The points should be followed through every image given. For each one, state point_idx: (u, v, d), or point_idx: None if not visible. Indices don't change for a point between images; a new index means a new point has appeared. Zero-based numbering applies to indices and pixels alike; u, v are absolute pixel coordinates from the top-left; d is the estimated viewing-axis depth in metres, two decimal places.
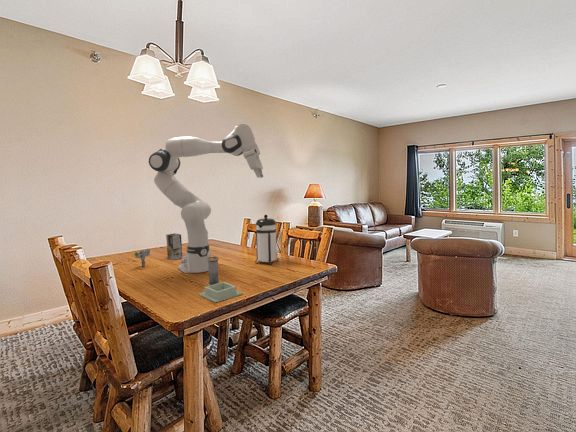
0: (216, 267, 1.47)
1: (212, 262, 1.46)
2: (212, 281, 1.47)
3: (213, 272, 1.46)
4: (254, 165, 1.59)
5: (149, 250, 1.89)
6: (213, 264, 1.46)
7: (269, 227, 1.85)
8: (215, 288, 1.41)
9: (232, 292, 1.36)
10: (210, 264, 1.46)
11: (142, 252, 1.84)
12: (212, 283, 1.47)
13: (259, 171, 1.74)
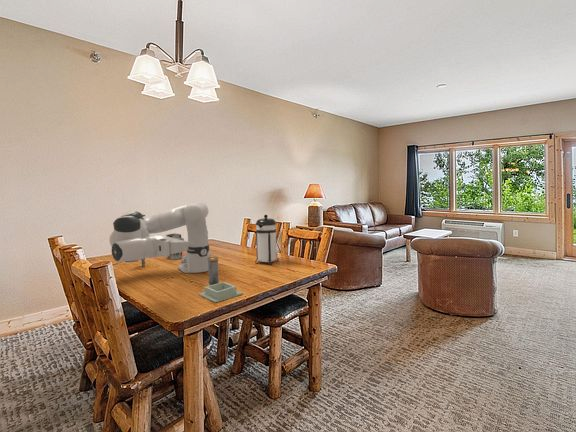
0: (216, 267, 1.47)
1: (212, 262, 1.46)
2: (212, 281, 1.47)
3: (213, 272, 1.46)
4: (185, 244, 1.27)
5: None
6: (213, 264, 1.46)
7: (269, 227, 1.85)
8: (215, 288, 1.41)
9: (232, 292, 1.36)
10: (210, 264, 1.46)
11: None
12: (212, 283, 1.47)
13: None
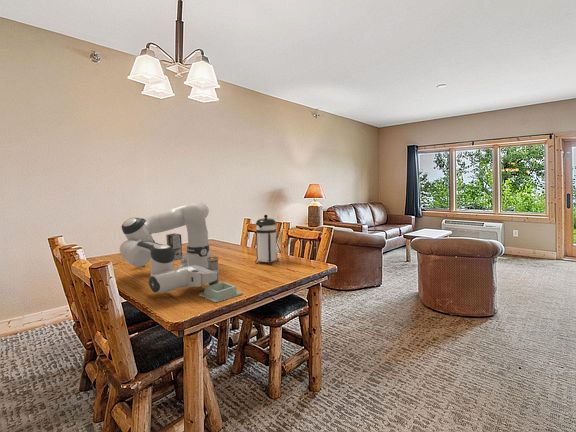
0: (216, 267, 1.47)
1: (212, 262, 1.46)
2: None
3: None
4: (215, 275, 1.38)
5: None
6: (213, 264, 1.46)
7: (269, 227, 1.85)
8: (215, 288, 1.41)
9: (232, 292, 1.36)
10: (210, 264, 1.46)
11: None
12: (212, 283, 1.47)
13: None
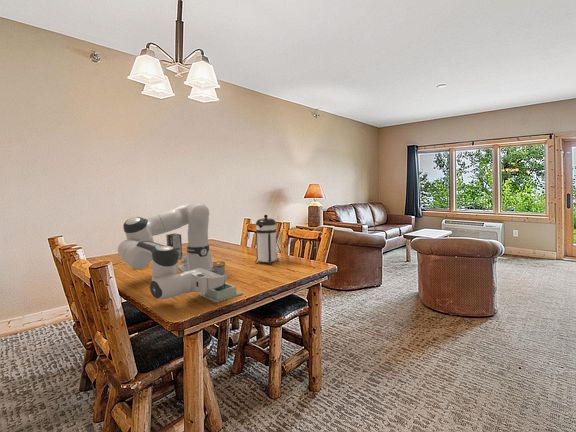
0: (223, 273, 1.36)
1: (218, 267, 1.34)
2: (218, 287, 1.35)
3: None
4: (222, 279, 1.26)
5: None
6: (219, 269, 1.35)
7: (269, 227, 1.85)
8: None
9: (232, 292, 1.36)
10: (216, 269, 1.35)
11: None
12: (218, 290, 1.36)
13: None
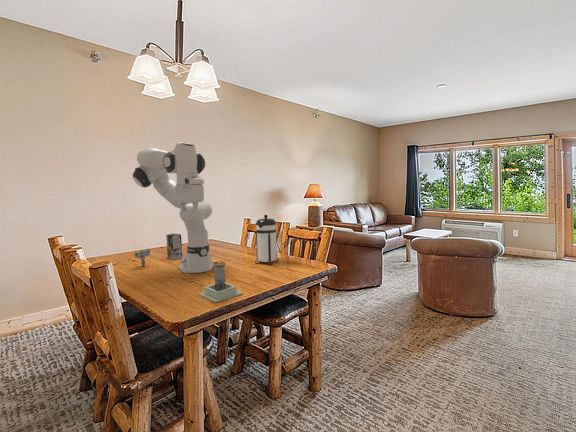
0: (223, 272, 1.36)
1: (218, 267, 1.35)
2: (218, 287, 1.35)
3: (219, 278, 1.35)
4: (201, 198, 1.28)
5: (149, 250, 1.89)
6: (219, 269, 1.35)
7: (269, 227, 1.85)
8: None
9: (232, 292, 1.36)
10: (216, 269, 1.35)
11: (142, 252, 1.84)
12: (218, 290, 1.36)
13: (182, 203, 1.39)
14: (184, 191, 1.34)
